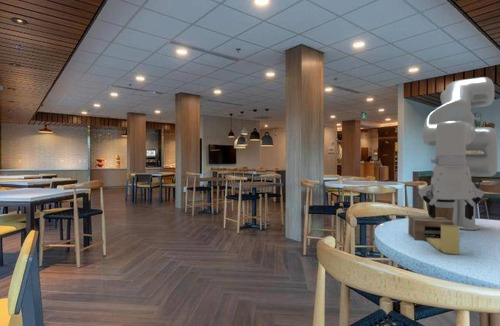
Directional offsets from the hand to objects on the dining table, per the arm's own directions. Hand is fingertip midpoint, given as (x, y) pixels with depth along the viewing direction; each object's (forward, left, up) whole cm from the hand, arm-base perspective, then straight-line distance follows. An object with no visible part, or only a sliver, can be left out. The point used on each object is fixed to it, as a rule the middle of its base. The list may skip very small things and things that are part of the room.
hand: (450, 218), depth 93 cm
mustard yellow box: (-6, 0, -10) cm, 12 cm away
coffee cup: (-32, +8, -11) cm, 35 cm away
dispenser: (-19, 0, -11) cm, 22 cm away
